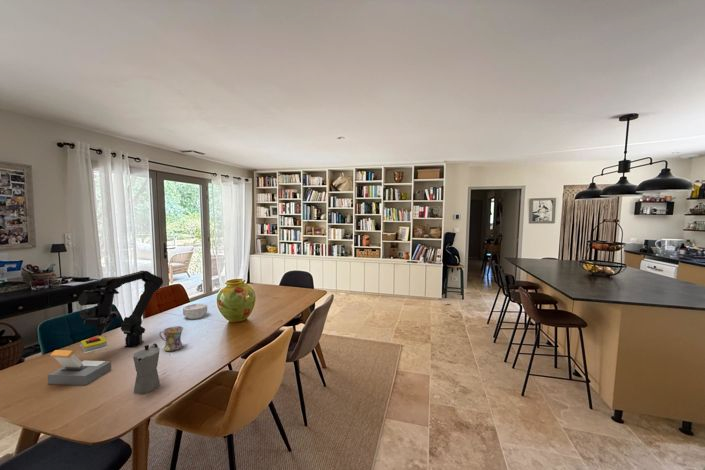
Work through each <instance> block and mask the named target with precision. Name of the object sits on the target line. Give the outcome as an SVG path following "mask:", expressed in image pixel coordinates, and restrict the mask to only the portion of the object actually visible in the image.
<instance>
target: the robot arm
mask: <svg viewBox="0 0 705 470" xmlns="http://www.w3.org/2000/svg"><path fill="white" fill-rule="evenodd" d="M138 280H139V281H140V280H141V281H142V282H144V283H143V287H144V288H143V291H142V294H141V296H140V297H139V300H138V302H137V303H136V305H135V307H134V309H133V311H132V313H131V314H130V315H129V316H128V317H127V316H125V317H124V318H123V320H122V322H121V323H120V325H121V326H120V330H121V331H122V332H123V335H125V336H126V337H125V338H124V339H125V340H124V341H125V343H124V344H125V345H124V348H130V347H131V348H134V347H140V346H141V344H143V343H144V340H143V334H145V331H146V328H144V327H143V326H142V324H143V320H142V317H143V315H144V313H145V311H146V309H147V307H148V306H149V303H150V301H151V299H152V298H153V295H154V293H155V292H157V291H158V290H159V289H160V288H161V287H162V285H163V283H164V280H163V278H162V277H161V276H158V275H155V274H154V273H152V272H150V271H148V270H139V271H136V272H133V273H132V272H131V273H128V274H123V275H121V276H109V277H103V278H101V279H100V280H99V281H98V283H97V284H96V285H95V286H94V287H93V288H92V289H91V290H83V291H82V293H81V294H80V295H79V296H78V299H77V303H78V304H79V305H80V306H92V305H94V307H93V308H92V309H89V310H88V308H86V309H85V308H84V309H81V310H80V312H79V315H78V316H79V317H81V319H82V320H83V319H84V320H83V325H94V326H95V328H96V331H97V337H100V336H103V334H104V332H105V331H106V330H107V328H108V327H109V325H111V323H112V322H113V319H111V318H115V319H118V318H119V316H120V313H119V312H118V311H112V310H113V308H114V307H115V304H114V299H115V295H117V294H120V292H119V291H117V289H119V288H121V286H122V285H123V286H124V285H125V284H130V283H132V282H136V281H138Z"/></svg>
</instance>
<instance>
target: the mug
mask: <svg viewBox="0 0 705 470" xmlns="http://www.w3.org/2000/svg"><path fill="white" fill-rule="evenodd" d="M183 330H184V327H183V326H178V325H177V326H170V327H167V328H164V329H163V330H162V331H160V332H159V338H161V340H162V341H164V342H165V345H164V347H163V350H164V351H166V352H173V351H174V352H175V351H177V350H179V349H181V348H182V347H183V343H182V340H181V339H182V338H181V336H182V333H183ZM162 333H163V335H164V337H165V338H163V336H162Z"/></svg>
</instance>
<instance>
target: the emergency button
mask: <svg viewBox="0 0 705 470" xmlns="http://www.w3.org/2000/svg"><path fill="white" fill-rule="evenodd" d="M107 347H108V344H107V339H105V337H104V336H103V335H101V336H96V337H91V338H88V339H83V340H81V341H80V348H81V350H82V351H83V354H88V353H92V352H96V351H101V350H104V349H107Z"/></svg>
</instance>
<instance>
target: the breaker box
mask: <svg viewBox="0 0 705 470" xmlns="http://www.w3.org/2000/svg"><path fill="white" fill-rule="evenodd" d="M80 361H81V362H82V363H83V367H82V368H65V367H63V366H62V367H60V368H59V369H56V370H55V371H52V372H50V373H48V374H47V385H67V386H68V385H70V386H87V385H88V384H90V383H92V382H93V381H94V382H95V380H97V379H98V378H100V377H102V376H104V375H105V374H107V373H109V372H110V371H111V370H112V362H111V361H105V360H80Z"/></svg>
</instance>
